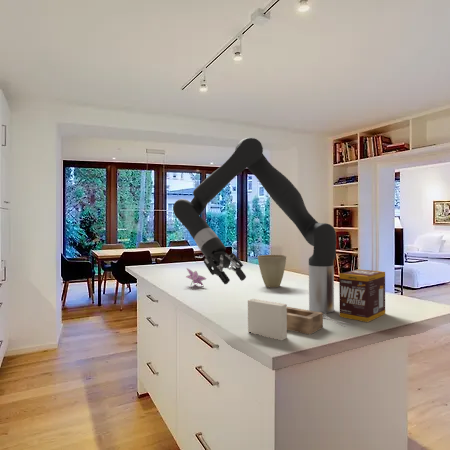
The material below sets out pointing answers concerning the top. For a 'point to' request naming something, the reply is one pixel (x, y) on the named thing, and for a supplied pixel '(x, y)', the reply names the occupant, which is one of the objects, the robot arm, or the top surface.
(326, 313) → the scissors
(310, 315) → the walnut box
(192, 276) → the lily
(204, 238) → the robot arm
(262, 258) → the plant pot
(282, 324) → the white rectangular block
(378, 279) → the supplement box
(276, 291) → the top surface
